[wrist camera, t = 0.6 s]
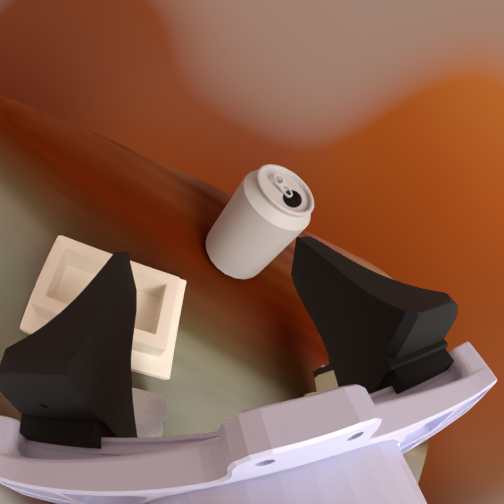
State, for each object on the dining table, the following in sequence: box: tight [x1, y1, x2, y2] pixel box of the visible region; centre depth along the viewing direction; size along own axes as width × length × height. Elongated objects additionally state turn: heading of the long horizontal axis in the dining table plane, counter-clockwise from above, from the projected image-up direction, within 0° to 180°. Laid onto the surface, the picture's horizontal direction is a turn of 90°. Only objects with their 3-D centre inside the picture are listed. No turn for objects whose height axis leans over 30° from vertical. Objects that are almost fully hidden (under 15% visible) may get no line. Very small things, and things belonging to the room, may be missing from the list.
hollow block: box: [20, 235, 186, 380], centre depth 23 cm, size 10×14×4 cm
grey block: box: [132, 387, 167, 438], centre depth 17 cm, size 4×8×6 cm, turn 86°
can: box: [206, 164, 314, 279], centre depth 31 cm, size 8×8×12 cm
